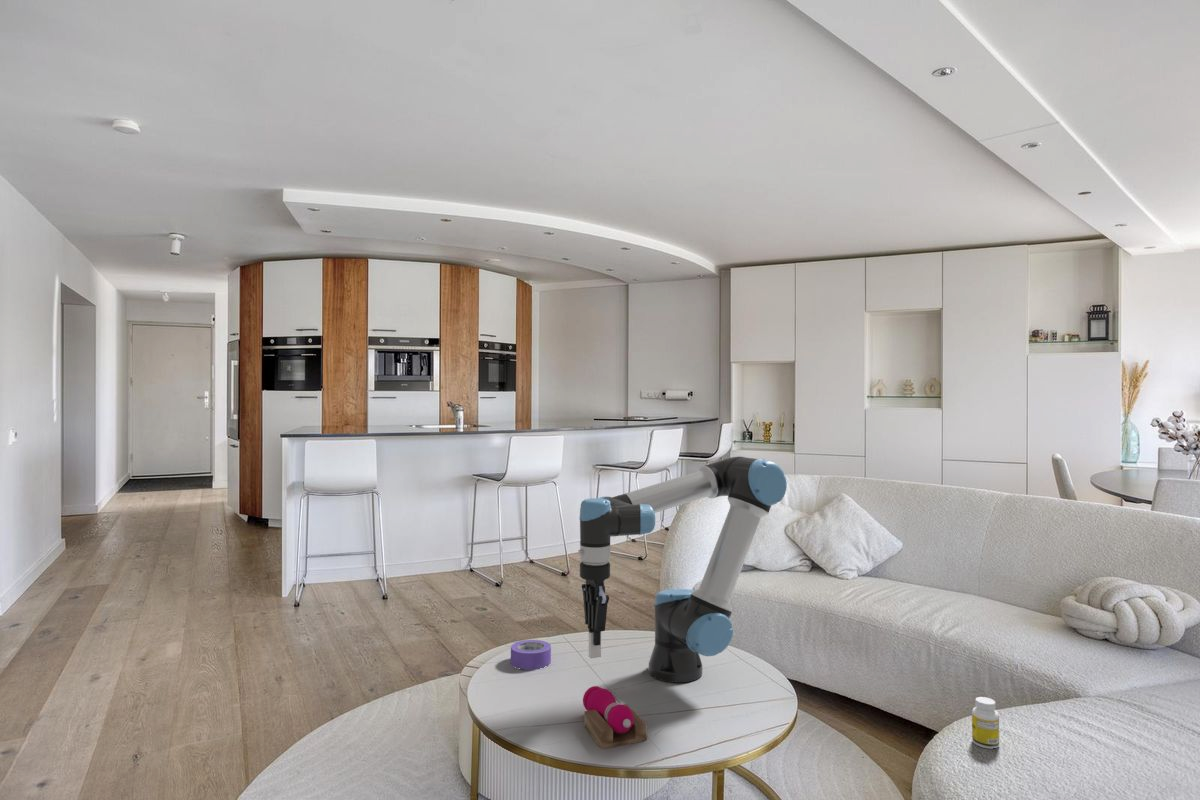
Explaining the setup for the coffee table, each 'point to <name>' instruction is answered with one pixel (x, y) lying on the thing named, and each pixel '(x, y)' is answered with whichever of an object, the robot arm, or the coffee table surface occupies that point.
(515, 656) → the tape roll
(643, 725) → the cradle
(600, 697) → the pepper mill
